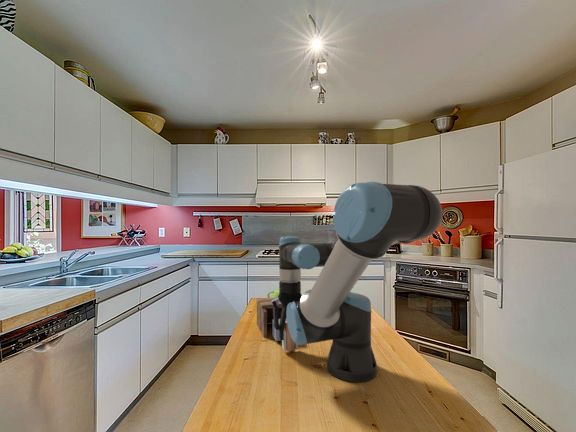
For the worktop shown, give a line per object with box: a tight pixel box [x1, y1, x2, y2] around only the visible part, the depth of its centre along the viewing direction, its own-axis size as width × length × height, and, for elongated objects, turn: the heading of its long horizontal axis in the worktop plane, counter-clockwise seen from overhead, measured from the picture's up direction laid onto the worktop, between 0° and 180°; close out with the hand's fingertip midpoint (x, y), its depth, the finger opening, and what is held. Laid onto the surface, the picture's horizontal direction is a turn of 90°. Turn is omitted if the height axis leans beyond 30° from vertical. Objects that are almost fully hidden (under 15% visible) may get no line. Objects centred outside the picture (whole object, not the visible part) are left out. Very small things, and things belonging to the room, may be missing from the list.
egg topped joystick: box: [271, 318, 296, 352], centre depth 106 cm, size 16×6×9 cm, turn 17°
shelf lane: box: [256, 297, 287, 338], centre depth 122 cm, size 15×12×11 cm
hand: (289, 348), depth 100 cm, fingers closed on egg topped joystick, 4 cm apart
